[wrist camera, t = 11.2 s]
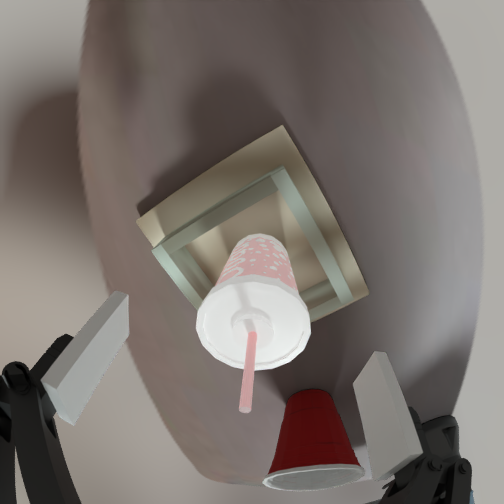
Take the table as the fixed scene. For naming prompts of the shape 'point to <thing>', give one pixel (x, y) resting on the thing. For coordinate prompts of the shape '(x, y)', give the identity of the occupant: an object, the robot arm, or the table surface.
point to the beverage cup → (254, 312)
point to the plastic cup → (312, 446)
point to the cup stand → (255, 225)
